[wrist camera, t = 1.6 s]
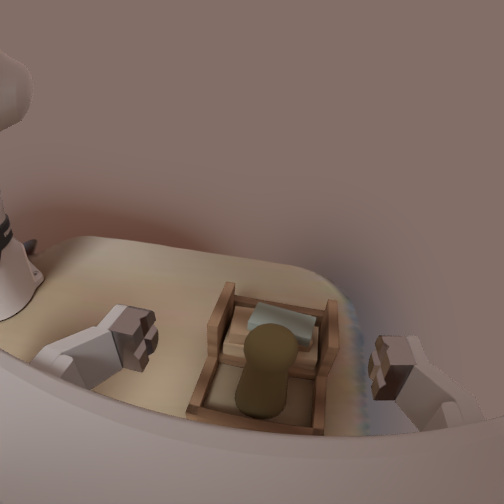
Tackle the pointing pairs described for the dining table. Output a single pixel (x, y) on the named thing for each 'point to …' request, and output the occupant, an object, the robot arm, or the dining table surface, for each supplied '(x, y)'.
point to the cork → (266, 370)
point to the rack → (231, 352)
